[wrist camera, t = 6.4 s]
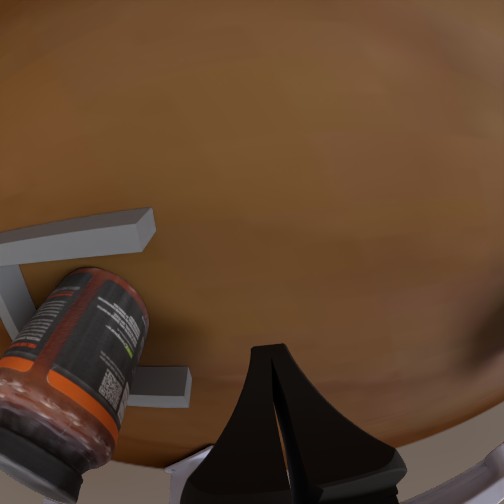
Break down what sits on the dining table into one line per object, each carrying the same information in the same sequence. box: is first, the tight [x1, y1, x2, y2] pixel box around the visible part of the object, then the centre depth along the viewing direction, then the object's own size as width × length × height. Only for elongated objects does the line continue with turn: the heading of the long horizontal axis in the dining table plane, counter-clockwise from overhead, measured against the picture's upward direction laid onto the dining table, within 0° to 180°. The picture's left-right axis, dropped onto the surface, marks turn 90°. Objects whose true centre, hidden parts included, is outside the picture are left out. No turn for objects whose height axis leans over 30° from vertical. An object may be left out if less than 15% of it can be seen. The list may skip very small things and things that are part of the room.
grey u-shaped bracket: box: [0, 207, 192, 408], centre depth 14 cm, size 11×11×2 cm
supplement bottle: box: [0, 267, 149, 504], centre depth 10 cm, size 6×6×11 cm
